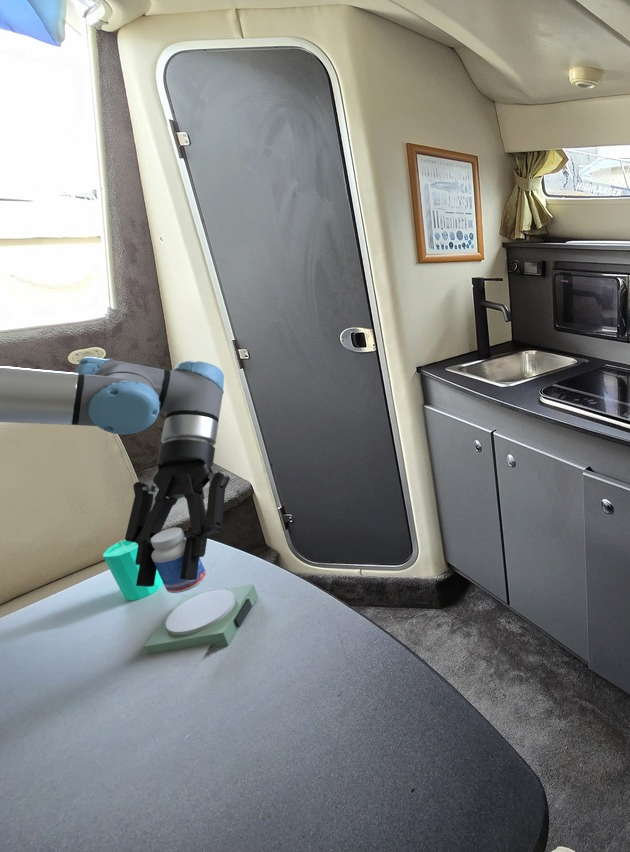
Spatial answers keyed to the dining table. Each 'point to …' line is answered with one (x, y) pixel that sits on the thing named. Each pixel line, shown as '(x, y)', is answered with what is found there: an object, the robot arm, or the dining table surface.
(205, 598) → the kitchen scale
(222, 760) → the dining table surface
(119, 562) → the candle
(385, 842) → the dining table surface
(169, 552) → the pill bottle
